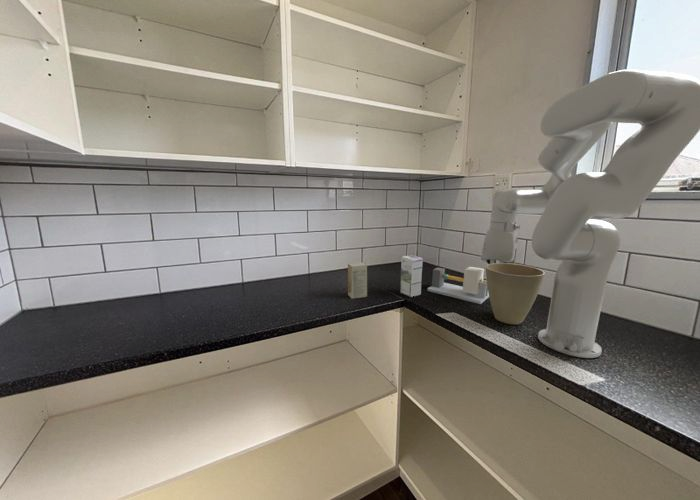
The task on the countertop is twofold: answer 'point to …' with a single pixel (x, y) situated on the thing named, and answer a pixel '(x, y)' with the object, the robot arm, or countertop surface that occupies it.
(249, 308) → the countertop surface
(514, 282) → the plant pot
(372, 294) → the countertop surface
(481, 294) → the grey rod holder
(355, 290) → the skincare box
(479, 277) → the slotted white cube
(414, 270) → the syrup box
